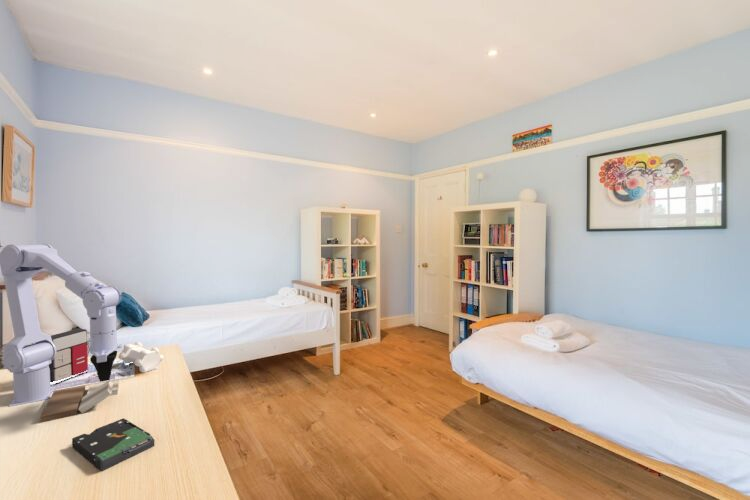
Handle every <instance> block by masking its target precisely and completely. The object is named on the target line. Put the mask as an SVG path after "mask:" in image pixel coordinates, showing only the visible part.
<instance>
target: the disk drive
mask: <svg viewBox="0 0 750 500" xmlns="http://www.w3.org/2000/svg"><path fill="white" fill-rule="evenodd" d="M71 440H72V441H71V445H72V447H71V448H72V449H73V450H74V451H75V452H77V453H78V454H79V455H80V456H82V457H83V458H84V459H85V460H86V461H87V462H89V463H90V464H91V465H92V466H93V467H94V468H96V469H97V470H99V471H100V472H104V471H106V470H109V469H110V468H112V467H114V466H116V465H118V464H120V463H123V462H125V461H127V460H128V459H131V458H134V457H135V456H137V455H139V454H140V453H143V452H145V451H147V450H149V449H152V448H153V447H155V439H154V437H153V435H151V433H149V432H147V431H145V430H144V429H143V428H141V427H139V426H137V425H135V424H134V423H133V422H131V421H129V420H128V419H126V418H121V419H119V420H118V419H117V420H116V421H115V420H114V422H111V423H108V424H106V425H103V426H101V427H97V428H95V430H93V431H92V432H91V433H82V434H80V435H77V436H75V437H73V438H72V439H71Z"/></svg>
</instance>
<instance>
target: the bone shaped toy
mask: <svg viewBox="0 0 750 500" xmlns="http://www.w3.org/2000/svg"><path fill="white" fill-rule="evenodd" d="M117 357H118V359H119V360H122V363H123V362H125V363H130V362H133V364H134V365H135V366H136V367H139V371H140V373H143V374H144V373H145V374H146V373H148V372H149V371H156V370H158V369H159V365H160V364H161V362H162V361H163V360H164V355H163V354H160V350H159V348H157V347H152V348H150V349H146V348H144V347H143V344H142V342H139V341H135V343H133V344H131V343H126V344H124V345H123V349H122V350H121V352H119V354H117Z"/></svg>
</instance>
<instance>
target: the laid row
mask: <svg viewBox="0 0 750 500" xmlns="http://www.w3.org/2000/svg"><path fill="white" fill-rule="evenodd" d="M85 393H86V385H81V386H76V387H75V386H74V387H70V388H64V389H59V390H53V392H52V394H51V396H50V397H49V399H48V402H47V403H46V405H45V407H44V409H43V410H42V413H41V414H40V416H39V423H40V424H41V423H47V422H50V421H55V420H60V419H64V418H69V417H74V416H78V413H79V410H78V409H79V406H80V403H81V401H82V398H83V397H84V396H85Z"/></svg>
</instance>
